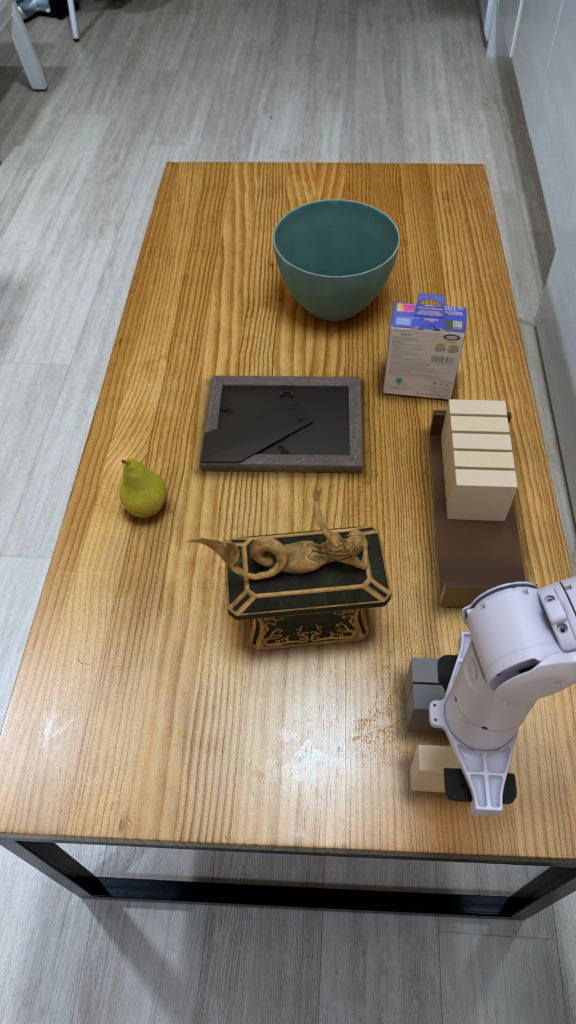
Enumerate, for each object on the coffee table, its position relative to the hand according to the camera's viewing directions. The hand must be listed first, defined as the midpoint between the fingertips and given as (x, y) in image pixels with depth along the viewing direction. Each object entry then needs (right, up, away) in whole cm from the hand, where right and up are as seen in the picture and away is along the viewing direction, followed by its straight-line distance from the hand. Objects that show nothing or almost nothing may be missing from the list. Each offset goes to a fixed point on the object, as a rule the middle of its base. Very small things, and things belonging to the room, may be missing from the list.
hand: (461, 750), depth 67 cm
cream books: (+8, +26, +29) cm, 39 cm away
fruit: (-33, +22, +28) cm, 49 cm away
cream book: (0, -5, +8) cm, 10 cm away
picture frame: (-16, +33, +36) cm, 51 cm away
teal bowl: (-8, +54, +50) cm, 74 cm away
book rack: (+8, +21, +26) cm, 34 cm away
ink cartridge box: (+3, +40, +40) cm, 56 cm away
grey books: (+1, +1, +12) cm, 12 cm away
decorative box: (-15, +10, +19) cm, 26 cm away
